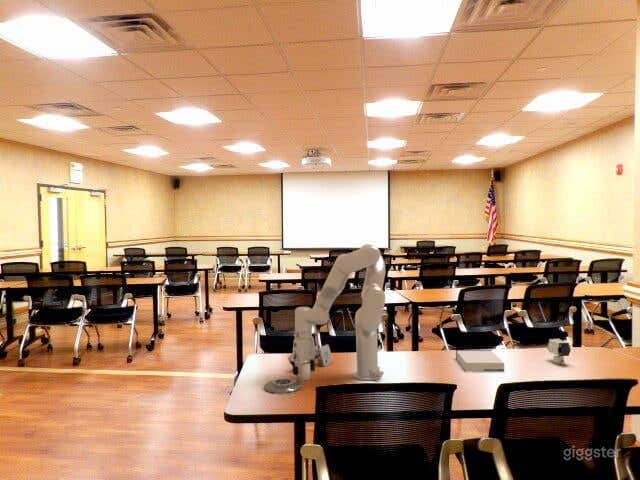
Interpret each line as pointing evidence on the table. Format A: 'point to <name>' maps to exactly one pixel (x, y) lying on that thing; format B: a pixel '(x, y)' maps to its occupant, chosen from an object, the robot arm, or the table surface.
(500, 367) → the disc drive
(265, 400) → the table surface
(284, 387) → the socket
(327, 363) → the electrical switch
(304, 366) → the white rounded cylinder
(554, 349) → the security camera
